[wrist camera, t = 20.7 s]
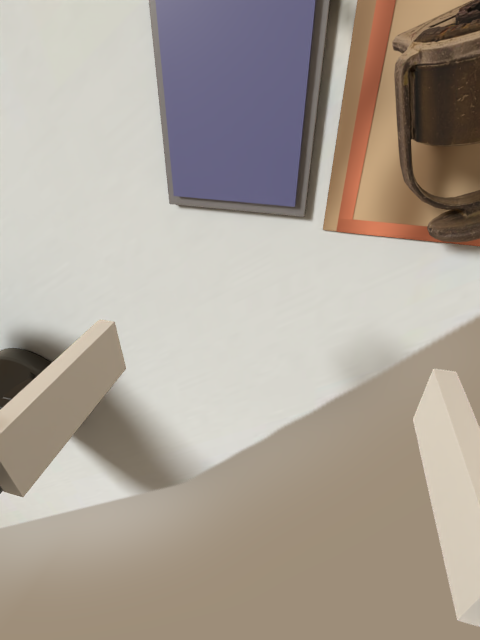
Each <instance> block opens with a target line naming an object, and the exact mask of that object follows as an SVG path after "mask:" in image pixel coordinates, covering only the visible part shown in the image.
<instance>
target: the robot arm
mask: <svg viewBox="0 0 480 640" xmlns="http://www.w3.org/2000/svg"><path fill="white" fill-rule="evenodd" d="M125 369H126V366H125V362H124V358H123V354H122V350H121V346H120V342H119V338H118V334H117V329H116V325H115V322H113V321H106V320H98V321H97V322H96V323H95V324H94V325H93V326H92V327H91V328H90V329H89V330H87V331H86V332H85V333H84V334H83V335H82V336H81V337H80V338H79V339H78V340H76V341H75V342H74V343H73V344H72V345H71V346H70V347H69V348H68V349H67V350H65V351H64V352H63V353H62V354H61V355H60V356H59V357H58V358H57V359H56V360H54V361H53V362H52V363H51V362H49V361H47V360H46V359H44V358H42V357H40V356H38V355H36V354H34V353H32V352H29V351H26V350H22V349H17V348H8V349H3V350H1V351H0V494H1V492H2V491H4V492H7V493H10V494H14V495H17V496H21V497H24V496H25V494H26V493H27V492H28V491H29V489H30V488H31V487H32V486H33V484H34V483H35V482H36V481H37V479H38V478H39V477H40V476H41V474H42V473H43V472H44V471H45V469H46V468H47V467H48V466H49V464H50V463H51V462H52V461H53V459H54V458H55V457H56V456H57V454H58V453H59V452H60V451H61V449H62V448H63V447H64V446H65V444H66V443H67V442H68V441H69V439H70V438H71V437H72V436H73V434H74V433H75V432H76V431H77V429H78V428H79V427H80V426H81V424H82V423H83V422H84V421H85V419H86V418H87V417H88V416H89V414H90V413H91V412H92V411H93V409H94V408H95V407H96V406H97V404H98V403H99V402H100V401H101V399H102V398H103V397H104V396H105V394H106V393H107V392H108V391H109V389H110V388H111V387H112V386H113V384H114V383H115V382H116V381H117V379H118V378H119V377H120V376H121V374H122V373H123V372H124V371H125ZM413 422H414V427H415V431H416V436H417V440H418V445H419V449H420V454H421V458H422V463H423V467H424V472H425V476H426V481H427V486H428V490H429V494H430V499H431V504H432V508H433V513H434V517H435V521H436V526H437V531H438V535H439V539H440V544H441V549H442V553H443V558H444V562H445V567H446V571H447V576H448V581H449V585H450V590H451V594H452V599H453V603H454V608H455V612H456V616H457V620H458V621H461V622H465V623H468V624H471V625H475V626H478V627H480V427H479V425H478V422H477V420H476V418H475V415H474V413H473V411H472V408H471V406H470V404H469V401H468V399H467V396H466V394H465V391H464V389H463V387H462V384H461V382H460V379H459V377H458V375H457V372H455V371H448V370H440V369H433V370H432V373H431V375H430V378H429V380H428V383H427V385H426V388H425V390H424V393H423V395H422V398H421V400H420V403H419V405H418V408H417V410H416V413H415V415H414V418H413Z"/></svg>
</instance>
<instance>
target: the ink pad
mask: <svg viewBox="0 0 480 640" xmlns="http://www.w3.org/2000/svg"><path fill="white" fill-rule="evenodd" d="M149 7H150V17H151V27H152V36H153V46H154V56H155V66H156V76H157V85H158V95H159V105H160V115H161V124H162V134H163V144H164V154H165V164H166V173H167V183H168V193H169V203H170V204H176V205H186V206H197V207H207V208H218V209H228V210H238V211H249V212H259V213H270V214H280V215H291V216H301V217H304V215H305V211H306V202H307V194H308V185H309V177H310V169H311V160H312V152H313V143H314V135H315V126H316V118H317V110H318V101H319V93H320V84H321V76H322V67H323V59H324V51H325V42H326V34H327V25H328V17H329V8H330V0H149Z"/></svg>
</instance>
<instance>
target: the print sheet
mask: <svg viewBox="0 0 480 640" xmlns="http://www.w3.org/2000/svg"><path fill="white" fill-rule="evenodd" d="M469 1H471V0H358V1H357V8H356V14H355V21H354V28H353V34H352V41H351V47H350V54H349V61H348V67H347V74H346V80H345V87H344V94H343V100H342V107H341V113H340V120H339V127H338V133H337V140H336V146H335V153H334V160H333V166H332V173H331V179H330V186H329V192H328V199H327V206H326V212H325V219H324V225H323V230H330V231H337V232H347V233H356V234H366V235H376V236H385V237H395V238H405V239H414V240H424V241H434V242H443V241H440V240H438V239H435V238H433V237H432V236H430V234H429V232H428V229H427V227H428V224H429V222H430V221H431V220H432V219H434V218H435V217H437V216H439V215H440V214H442V213H444V212H447V211H449V210H445V209H440V208H435V207H433V206H431V205H429V204H427V203H424V202H423V201H421V200H420V199H419V198H418V197H417V196H416V195H415V194H414V193H413V192H412V191H411V190H410V189H409V187H408V186H407V184H406V183H405V182H404V179H403V175H402V171H401V167H400V159H399V148H398V132H397V116H396V98H395V78H394V71H395V64H396V62H397V60H398V58H399V57H400V56H401V55H402V54H403V53H401V52H399V51H394V50H393V46H392V42H393V40H394V39H395V37H396V36H397V35H399V34H401V33H403V32H405V31H408V30H410V29H412V28H414V27H416V26H418V25H420V24H422V23H425V22H427V21H429V20H431V19H433V18H435V17H437V16H439V15H441V14H443V13H445V12H448V11H450V10H452V9H454V8H456V7H458V6H460V5H463V4H465V3H467V2H469ZM411 149H412V166H413V174H414V176H415V179H416V182H417V183H418V184H419V186H420V187H421V188H422V189H424V190H425V191H427V192H428V193H429V194H432V195H434V196H438V197H444V198H448V197H457V196H460V195H464V194H467V193H471V192H475V191H478V190H480V143H477V144H471V145H464V146H449V147H441V146H432V145H426V144H422V143H419V142H416V141H415V140H413V139H411ZM443 243H453V244H463V245H472V246H480V239H476V240H472V241H468V242H443Z"/></svg>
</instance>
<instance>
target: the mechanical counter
mask: <svg viewBox="0 0 480 640" xmlns="http://www.w3.org/2000/svg"><path fill="white" fill-rule="evenodd" d="M392 46H393V50H394V51H399V52H401V53H403V54H402V55H401V56H400V57H399V58H398V60H397V62H396V64H395V71H394V78H395V98H396V116H397V132H398V148H399V159H400V167H401V171H402V175H403V179H404V182H405V183H406V184H407V186H408V187H409V189H410V190H411V191H412V192H413V193H414V194H415V195H416V196H417V197H418V198H419V199H420V200H421V201H423V202H424V203H427V204H429V205H431V206H433V207H435V208H440V209H445V210H449V211H447V212H444V213H442V214H440V215H439V216H437V217H435V218H434V219H432V220H431V221H430V222H429V224H428V227H427V229H428V232H429V234H430V236H432V237H433V238H435V239H438V240H440V241H443V242H468V241H472V240H476V239H480V190H478V191H475V192H471V193H467V194H464V195H460V196H457V197H448V198H444V197H438V196H434V195H432V194H429V193H428V192H427V191H425V190H424V189H422V188H421V187H420V186H419V184H418V183H417V182H416V179H415V176H414V174H413V166H412V149H411V139H413V140H415V141H416V142H419V143H422V144H426V145H432V146H441V147H449V146H464V145H471V144H477V143H480V0H471V1H469V2H467V3H465V4H463V5H460V6H458V7H456V8H454V9H452V10H450V11H448V12H445V13H443V14H441V15H439V16H437V17H435V18H433V19H431V20H429V21H427V22H425V23H422V24H420V25H418V26H416V27H414V28H412V29H410V30H408V31H405V32H403V33H401V34H399V35H397V36H396V37H395V39H394V40H393V42H392Z"/></svg>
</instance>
